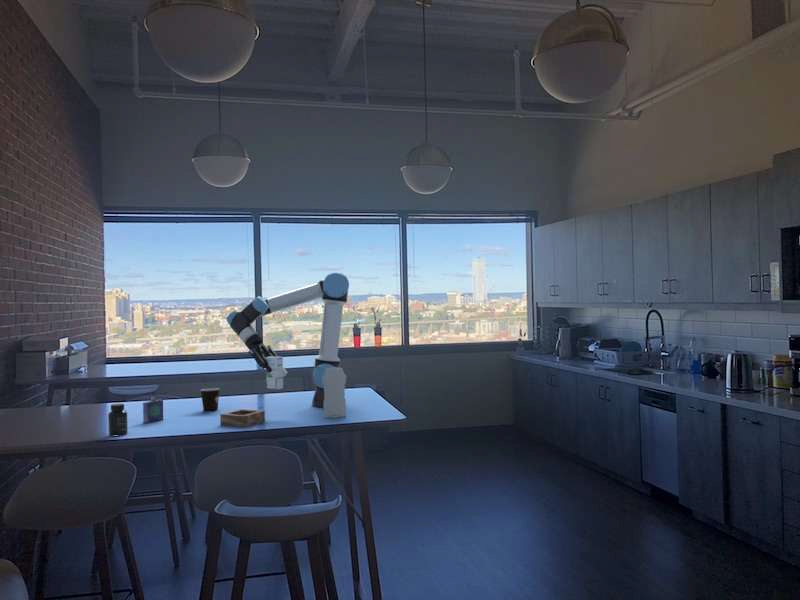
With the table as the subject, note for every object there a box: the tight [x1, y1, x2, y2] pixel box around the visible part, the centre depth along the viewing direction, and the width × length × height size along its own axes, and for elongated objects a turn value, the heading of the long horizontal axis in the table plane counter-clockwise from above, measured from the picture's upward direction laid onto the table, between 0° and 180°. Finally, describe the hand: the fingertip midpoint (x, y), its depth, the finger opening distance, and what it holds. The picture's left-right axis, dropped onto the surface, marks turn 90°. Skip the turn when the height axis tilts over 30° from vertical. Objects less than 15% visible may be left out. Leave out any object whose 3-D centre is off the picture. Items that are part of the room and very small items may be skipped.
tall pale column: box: [322, 367, 347, 419], centre depth 277 cm, size 11×4×22 cm, turn 102°
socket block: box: [219, 408, 266, 428], centre depth 267 cm, size 13×13×4 cm
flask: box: [142, 396, 164, 424], centre depth 275 cm, size 9×3×11 cm, turn 142°
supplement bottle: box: [107, 403, 129, 436], centre depth 250 cm, size 7×7×12 cm
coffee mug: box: [200, 387, 220, 412], centre depth 300 cm, size 12×9×10 cm
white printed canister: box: [265, 355, 284, 390], centre depth 283 cm, size 6×6×14 cm
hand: (281, 375), depth 281 cm, fingers closed on white printed canister, 6 cm apart
